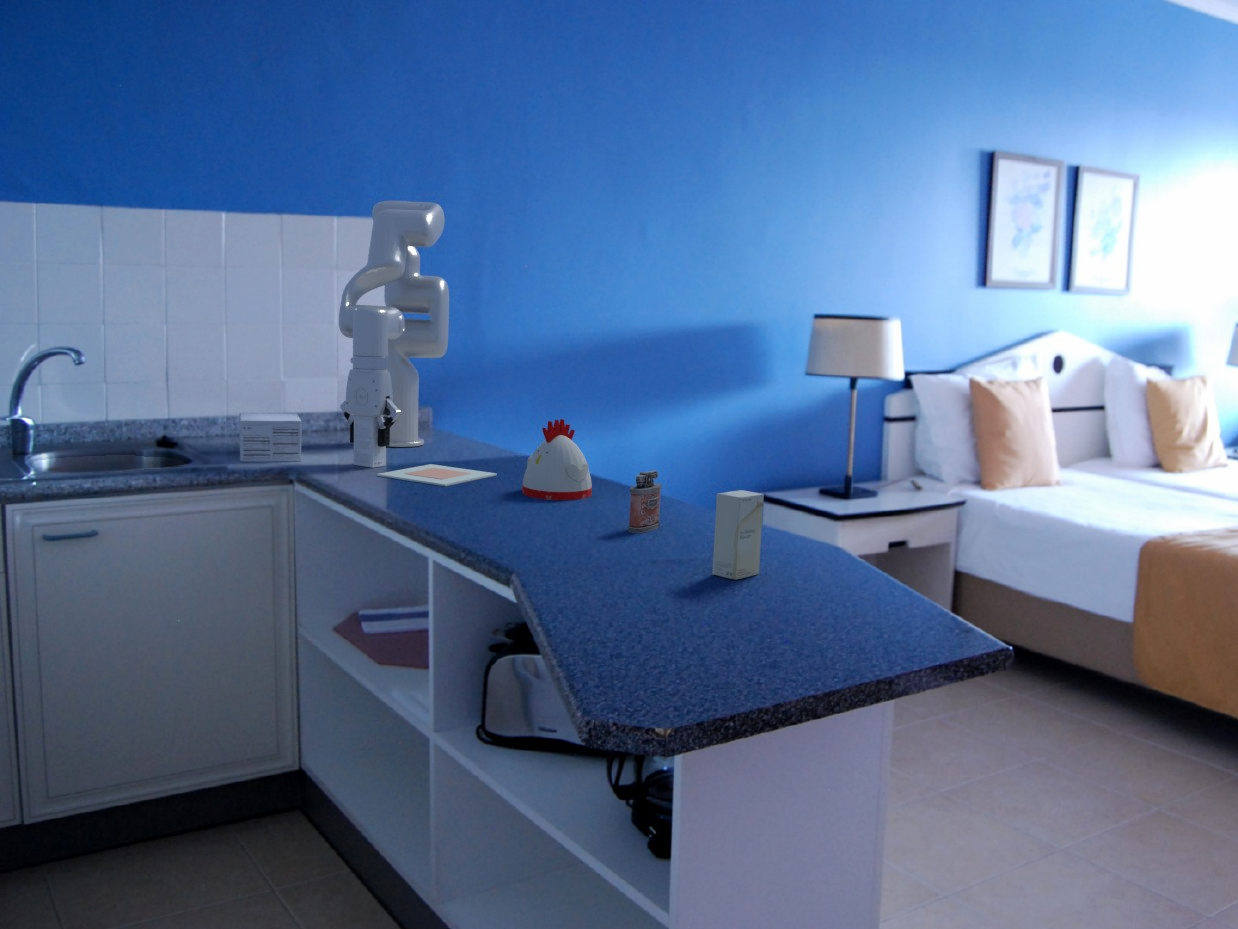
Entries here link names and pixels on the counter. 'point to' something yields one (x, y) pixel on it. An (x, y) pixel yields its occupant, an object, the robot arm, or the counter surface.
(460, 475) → the square coaster
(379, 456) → the skincare box
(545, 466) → the kitchen timer
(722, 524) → the skincare box
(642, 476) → the lighter
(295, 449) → the supplement box
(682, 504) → the counter surface
